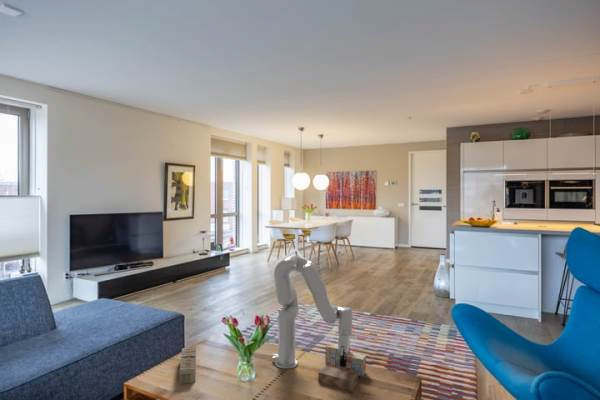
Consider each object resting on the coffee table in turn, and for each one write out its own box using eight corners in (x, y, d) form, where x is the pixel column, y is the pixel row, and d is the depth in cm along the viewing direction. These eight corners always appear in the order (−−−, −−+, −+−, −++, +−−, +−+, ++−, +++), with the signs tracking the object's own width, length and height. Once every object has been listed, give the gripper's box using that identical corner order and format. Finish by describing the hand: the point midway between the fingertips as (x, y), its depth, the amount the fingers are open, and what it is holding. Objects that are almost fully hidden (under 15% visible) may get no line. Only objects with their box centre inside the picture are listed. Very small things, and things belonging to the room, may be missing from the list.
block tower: (181, 362, 206) (178, 386, 178) (182, 347, 207) (178, 368, 178) (196, 360, 208) (195, 384, 180) (196, 346, 209) (195, 366, 180)
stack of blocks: (366, 372, 195) (366, 349, 195) (362, 377, 189) (362, 353, 190) (329, 363, 205) (329, 342, 205) (324, 368, 199) (325, 345, 199)
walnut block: (318, 382, 185) (318, 372, 185) (325, 374, 192) (325, 365, 192) (351, 391, 176) (351, 381, 176) (357, 383, 184) (357, 373, 184)
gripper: (341, 324, 207) (341, 356, 207) (334, 335, 191) (333, 369, 191) (354, 326, 204) (354, 358, 204) (348, 337, 188) (347, 371, 188)
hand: (344, 363), depth 197 cm, fingers closed on stack of blocks, 6 cm apart
